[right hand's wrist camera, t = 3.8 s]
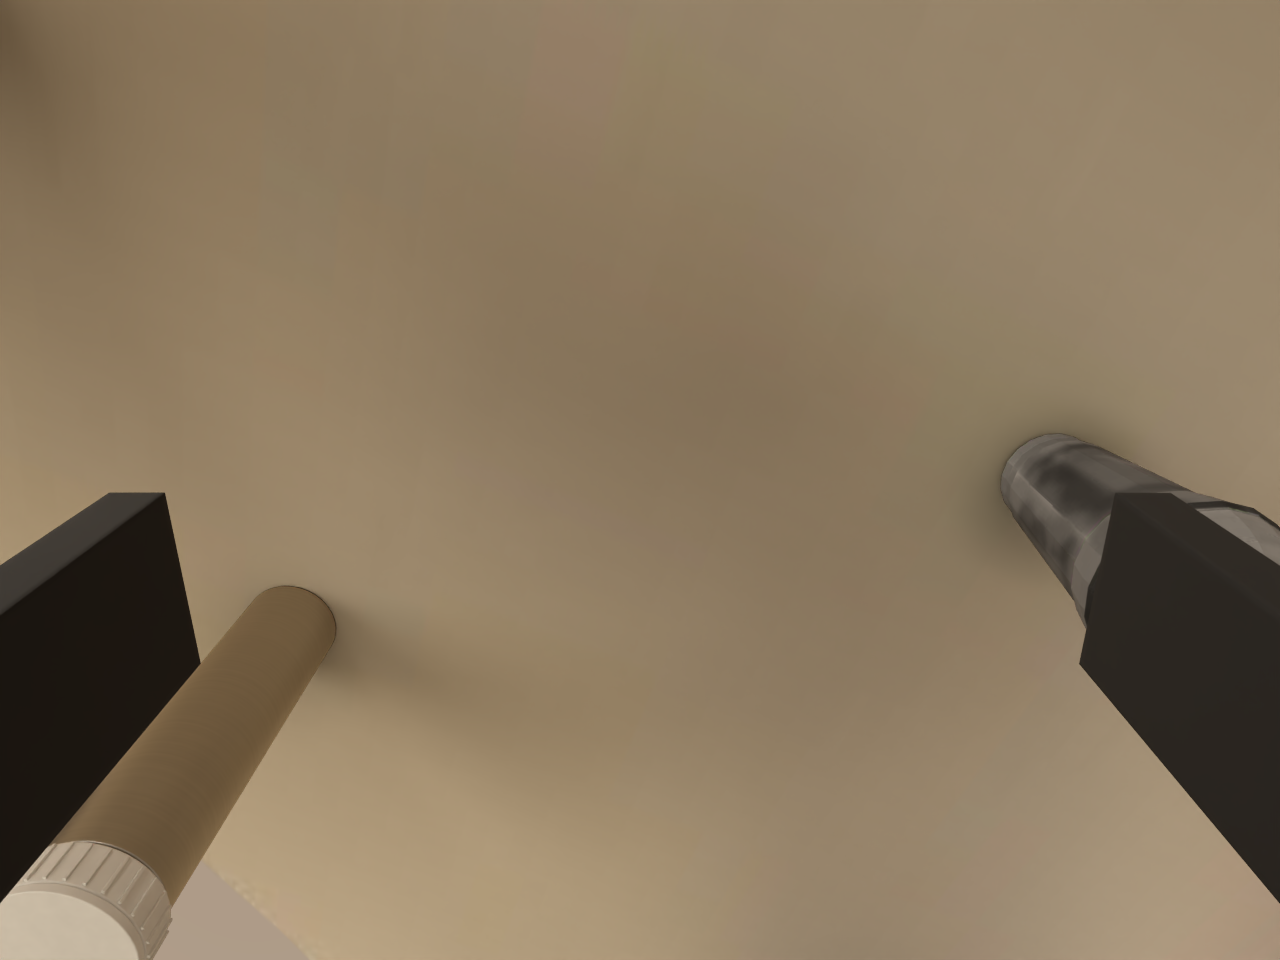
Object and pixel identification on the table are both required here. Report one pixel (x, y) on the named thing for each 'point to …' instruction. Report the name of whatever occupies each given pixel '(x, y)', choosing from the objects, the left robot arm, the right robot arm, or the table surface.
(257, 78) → the table surface
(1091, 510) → the beverage cup
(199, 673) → the tan tube
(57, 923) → the lid
